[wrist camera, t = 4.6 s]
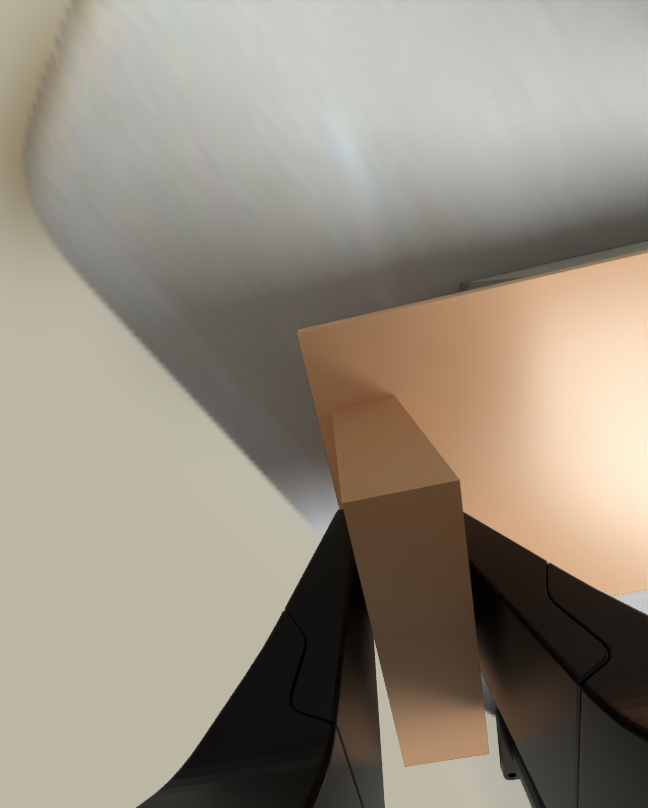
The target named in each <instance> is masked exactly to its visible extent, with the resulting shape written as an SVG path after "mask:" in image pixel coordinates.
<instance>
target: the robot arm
mask: <svg viewBox="0 0 648 808" xmlns="http://www.w3.org/2000/svg"><path fill="white" fill-rule="evenodd" d="M463 515H464V524H465V533H466V543H467V552H468V561H469V571H470V580H471V589H472V598H473V608H474V617H475V626H476V636H477V645H478V654H479V664H480V671H481V673H482V675H483V677H484V680H485V682H486V684H487V686H488V688H489V690H490V692H491V694H492V696H493V698H494V700H495V702H496V704H497V707H498V708H497V710H496V721H497V733H498V744H499V755H500V765H501V770H502V773H503V775H504V778H505V779H507V780H515V779H520V780H521V782H522V785H523V787H524V789H525V792H526V794H527V797H528V799H529V801H530V804H531V806H532V808H648V615H647V614H645V613H643V612H641V611H639V610H637V609H635V608H633V607H631V606H629V605H627V604H625V603H623V602H621V601H619V600H617V599H615V598H613V597H611V596H609V595H607V594H605V593H604V592H602V591H600V590H598V589H596V588H594V587H592V586H591V585H589V584H587V583H585V582H583V581H582V580H580V579H578V578H576V577H574V576H573V575H571V574H569V573H567V572H566V571H564V570H562V569H561V568H559V567H557V566H555V565H554V564H552V563H548V562H547V561H546V560H545V559H543V558H542V557H540V556H538V555H536V554H535V553H533V552H531V551H530V550H528V549H526V548H525V547H523V546H521V545H519V544H518V543H516V542H514V541H513V540H511V539H509V538H507V537H506V536H504V535H502V534H501V533H499V532H497V531H496V530H494V529H492V528H490V527H489V526H487V525H485V524H484V523H482V522H480V521H478V520H477V519H475V518H473V517H472V516H470V515H468V514H467V513H465V512H463ZM136 808H385V804H384V790H383V773H382V759H381V744H380V728H379V712H378V697H377V682H376V667H375V652H374V636H373V631H372V627H371V623H370V619H369V615H368V610H367V606H366V602H365V598H364V594H363V589H362V585H361V581H360V577H359V573H358V569H357V564H356V560H355V556H354V552H353V548H352V544H351V539H350V535H349V531H348V527H347V523H346V519H345V514H344V510H343V509H340V510H338V511H337V512H336V514H335V516H334V518H333V519H332V521H331V523H330V525H329V527H328V529H327V531H326V532H325V534H324V536H323V538H322V540H321V542H320V544H319V546H318V547H317V549H316V551H315V553H314V555H313V557H312V559H311V560H310V562H309V564H308V566H307V568H306V570H305V572H304V574H303V575H302V577H301V579H300V581H299V583H298V585H297V587H296V588H295V590H294V592H293V594H292V596H291V598H290V600H289V602H288V603H287V605H286V607H285V611H283V612H282V614H281V616H280V618H279V620H278V622H277V624H276V626H275V627H274V629H273V631H272V632H271V634H270V636H269V638H268V640H267V641H266V643H265V645H264V647H263V648H262V650H261V652H260V653H259V655H258V656H257V658H256V659H255V661H254V662H253V664H252V665H251V667H250V669H249V670H248V672H247V673H246V675H245V676H244V678H243V679H242V681H241V682H240V684H239V685H238V687H237V688H236V690H235V691H234V693H233V694H232V696H231V697H230V699H229V700H228V702H227V703H226V705H225V706H224V708H223V709H222V710H221V712H220V713H219V715H218V717H217V718H216V719H215V721H214V723H213V724H212V725H211V727H210V728H209V730H208V731H207V733H206V734H205V736H204V737H203V739H202V740H201V742H200V744H199V745H198V746H197V747H196V749H195V750H194V752H193V753H192V755H191V756H190V757H189V758H188V760H187V761H186V762H185V763H184V765H183V766H182V767H181V768H180V770H179V771H178V772H177V773H176V774H175V775H174V776H173V777H172V778H171V779H170V780H169V781H168V782H167V784H165V785H164V786H163V787H162V788H161V789H160V790H159V791H158V792H156V793H155V794H154V795H153V796H151V797H150V798H149V799H147V800H146V801H145V802H143V803H142V804H140V805H139V806H138V807H136Z"/></svg>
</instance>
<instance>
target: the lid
mask: <svg viewBox="0 0 648 808" xmlns="http://www.w3.org/2000/svg"><path fill="white" fill-rule="evenodd" d="M297 337H298V341H299V345H300V349H301V353H302V357H303V361H304V365H305V369H306V374H307V378H308V382H309V386H310V390H311V394H312V398H313V402H314V406H315V410H316V415H317V419H318V423H319V427H320V431H321V435H322V439H323V443H324V447H325V451H326V456H327V460H328V464H329V468H330V472H331V476H332V480H333V484H334V488H335V493H336V497H337V501H338V505H339V509H343V510H344V514H345V519H346V523H347V527H348V531H349V535H350V539H351V544H352V548H353V552H354V556H355V560H356V564H357V569H358V573H359V577H360V581H361V585H362V589H363V594H364V598H365V602H366V606H367V610H368V615H369V619H370V623H371V627H372V631H373V636H374V640H375V643H376V648H377V652H378V656H379V660H380V664H381V669H382V673H383V677H384V681H385V685H386V690H387V693H388V698H389V702H390V706H391V710H392V714H393V719H394V723H395V727H396V731H397V735H398V739H399V743H400V748H401V752H402V756H403V760H404V764H405V767H407V766H412V765H420V764H426V763H433V762H439V761H446V760H452V759H459V758H465V757H472V756H478V755H485V754H489V747H488V738H487V729H486V720H485V710H484V701H483V692H482V682H481V673H480V664H479V654H478V645H477V636H476V626H475V617H474V608H473V598H472V589H471V580H470V571H469V561H468V552H467V543H466V533H465V524H464V515H463V512H465V513H467V514H468V515H470V516H472V517H473V518H475V519H477V520H478V521H480V522H482V523H484V524H485V525H487V526H489V527H490V528H492V529H494V530H496V531H497V532H499V533H501V534H502V535H504V536H506V537H507V538H509V539H511V540H513V541H514V542H516V543H518V544H519V545H521V546H523V547H525V548H526V549H528V550H530V551H531V552H533V553H535V554H536V555H538V556H540V557H542V558H543V559H545V560H546V561H547V562H548V563H552V564H554V565H555V566H557V567H559V568H561V569H562V570H564V571H566V572H567V573H569V574H571V575H573V576H574V577H576V578H578V579H580V580H582V581H583V582H585V583H587V584H589V585H591V586H592V587H594V588H596V589H598V590H600V591H602V592H604V593H605V594H607V595H609V596H616V595H622V594H628V593H634V592H639V591H645V590H648V249H646V250H642V251H638V252H633V253H629V254H625V255H620V256H616V257H611V258H607V259H603V260H598V261H594V262H590V263H585V264H581V265H577V266H572V267H568V268H564V269H559V270H555V271H550V272H546V273H542V274H537V275H533V276H529V277H524V278H520V279H516V280H511V281H507V282H502V283H498V284H494V285H489V286H485V287H481V288H476V289H472V290H468V291H463V292H459V293H455V294H450V295H446V296H441V297H437V298H433V299H428V300H424V301H420V302H415V303H411V304H407V305H402V306H398V307H393V308H389V309H385V310H380V311H376V312H372V313H367V314H363V315H359V316H354V317H350V318H346V319H341V320H337V321H332V322H328V323H324V324H319V325H315V326H311V327H306V328H302V329H299V330H298V332H297Z"/></svg>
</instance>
